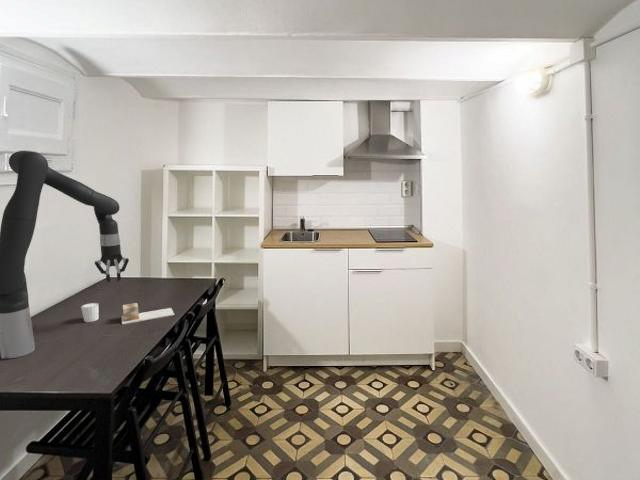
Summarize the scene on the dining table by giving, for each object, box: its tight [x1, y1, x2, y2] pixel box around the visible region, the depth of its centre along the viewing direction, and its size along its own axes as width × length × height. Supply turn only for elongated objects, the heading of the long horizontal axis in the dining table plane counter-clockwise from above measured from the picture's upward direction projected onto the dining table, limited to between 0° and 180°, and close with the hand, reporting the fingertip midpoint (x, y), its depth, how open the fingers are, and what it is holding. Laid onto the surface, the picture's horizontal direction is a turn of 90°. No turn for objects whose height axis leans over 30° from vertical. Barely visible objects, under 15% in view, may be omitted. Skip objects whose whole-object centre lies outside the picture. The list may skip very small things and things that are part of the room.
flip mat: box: [121, 307, 175, 325], centre depth 167 cm, size 22×10×1 cm, turn 121°
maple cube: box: [122, 302, 140, 322], centre depth 162 cm, size 6×6×6 cm
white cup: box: [80, 302, 100, 323], centre depth 162 cm, size 7×7×7 cm
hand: (114, 281), depth 157 cm, fingers open, 3 cm apart
